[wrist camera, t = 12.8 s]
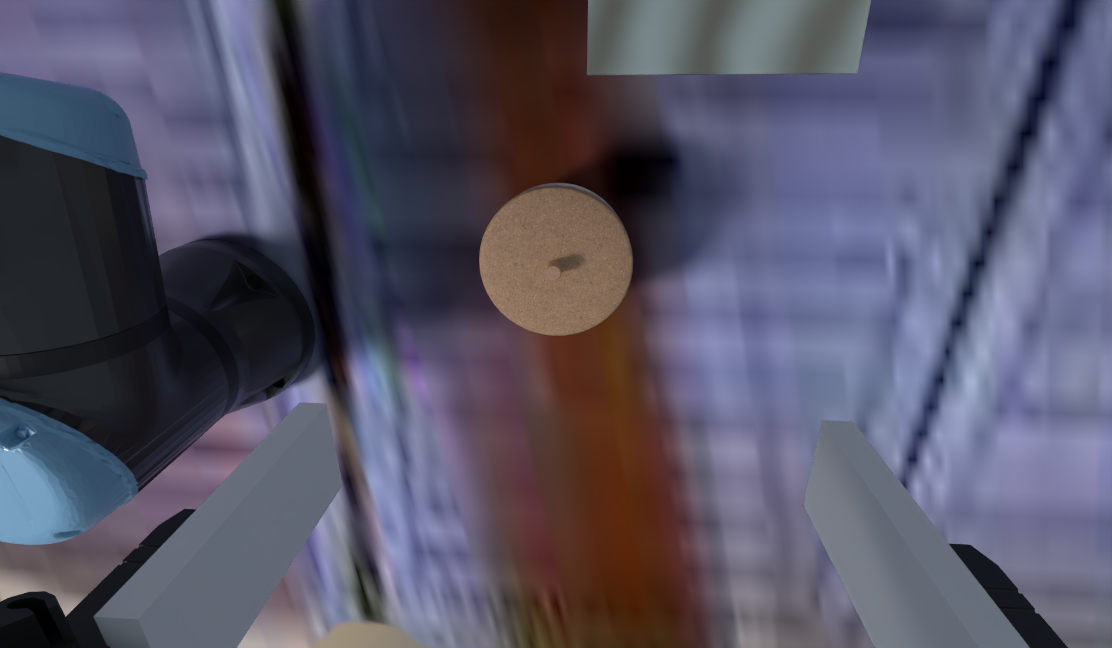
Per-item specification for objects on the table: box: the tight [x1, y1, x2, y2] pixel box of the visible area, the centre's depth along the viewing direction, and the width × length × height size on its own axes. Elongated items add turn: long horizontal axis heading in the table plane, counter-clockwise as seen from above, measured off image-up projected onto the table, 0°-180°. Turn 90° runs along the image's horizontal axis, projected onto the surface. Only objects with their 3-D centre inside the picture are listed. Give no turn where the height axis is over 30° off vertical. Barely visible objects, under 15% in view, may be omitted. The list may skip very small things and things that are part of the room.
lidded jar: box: [479, 183, 633, 335], centre depth 40 cm, size 11×11×9 cm
